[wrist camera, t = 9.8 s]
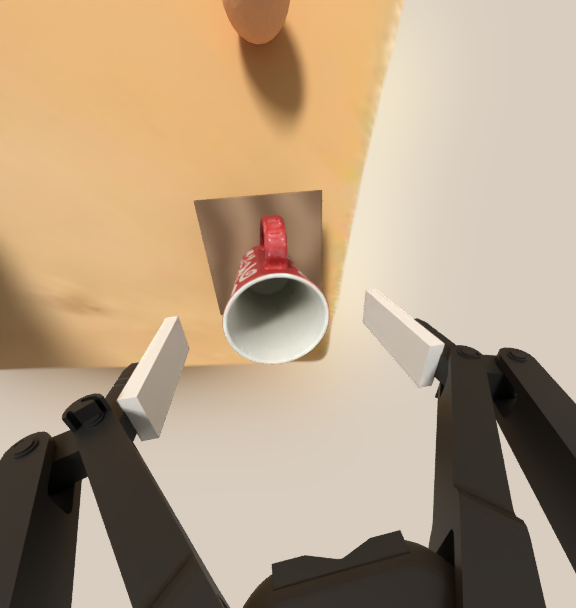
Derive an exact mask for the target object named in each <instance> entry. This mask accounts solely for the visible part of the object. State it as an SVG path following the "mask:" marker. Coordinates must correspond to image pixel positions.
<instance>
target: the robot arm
mask: <svg viewBox="0 0 576 608" xmlns="http://www.w3.org/2000/svg"><path fill="white" fill-rule="evenodd" d="M363 323H364V324H365V325H366V327H367V328H368V329H369V330H370V331H371V333H372V334H373V335H374V336H375V337H376V338H377V340H378V341H379V342H380V343H381V344H382V345H383V347H384V348H385V349H386V350H387V351H388V352H389V354H390V355H391V356H392V357H393V358H394V360H395V361H396V362H397V363H398V364H399V365H400V366H401V368H402V369H403V370H404V371H405V372H406V374H407V375H408V376H409V377H410V378H411V379H412V380H413V382H414V383H415V384H416V385H417V386H418V387H419V388H420V387H425V386H431V385H432V383H433V380H434V377H436V378H437V379H438V380H439V381H440V384H439V387H438V390H437V393H436V396H435V397H436V398H438V408H437V409H438V410H437V432H436V433H437V434H436V458H435V481H434V506H433V525H432V531H431V536H430V542H429V549H428V548H426V547H424V546H422V545H420V544H417V543H414V542H411V541H407V540H404V538H403V536H402V534H401V531H400V530H399V531H395V532H392V533H388V534H384V535H380V536H376V537H372V538H370V539H368V540H367V541H366V542H364V543H363V544H362V545H360V546H359V547H358V548H356V549H355V550H353V551H352V552H351V553H350V554H348V555H347V556H345V557H344V558H342V559H332V558H323V557H314V556H306V555H305V556H300V557H297V558H293V559H289V560H285V561H282V562H278V563H274V564H272V575H270V576H269V577H268V578H266V579H265V580H264V581H263V582H262V583H261V584H260V585H259V586H258V587H257V588H256V589H255V591H254V592H253V593H252V594H251V596H250V597H249V599H248V600H247V602H246V603H245V605H244V606H243V608H546V605H545V601H544V597H543V592H542V588H541V583H540V579H539V574H538V570H537V566H536V561H535V557H534V552H533V548H532V543H531V539H530V535H529V532H528V529H527V526H526V524H525V523H524V521H523V520H521V519H520V518H518V517H516V515H515V513H514V510H513V506H512V501H511V496H510V491H509V485H508V480H507V475H506V470H505V465H504V459H503V454H502V449H501V444H500V439H499V434H498V428H497V423H496V420H497V422H498V424H499V426H500V428H501V430H502V432H503V434H504V436H505V438H506V440H507V442H508V444H509V445H510V447H511V449H512V451H513V453H514V455H515V457H516V459H517V461H518V463H519V465H520V467H521V469H522V471H523V472H524V474H525V476H526V478H527V480H528V482H529V484H530V486H531V488H532V490H533V492H534V494H535V495H536V497H537V499H538V501H539V503H540V505H541V507H542V509H543V511H544V513H545V515H546V517H547V519H548V521H549V523H550V524H551V526H552V528H553V530H554V532H555V534H556V536H557V538H558V540H559V541H560V543H561V546H562V548H563V549H564V551H565V553H566V555H567V557H568V559H569V561H570V563H571V565H572V567H573V569H574V571H575V573H576V404H575V403H574V401H573V400H572V399H571V398H570V397H569V396H568V395H567V394H566V393H565V392H564V390H563V389H562V388H561V387H560V386H559V385H558V384H557V383H556V381H554V379H553V378H552V377H551V376H550V375H549V374H548V373H547V372H546V370H545V369H544V368H543V367H542V366H541V365H540V364H539V363H538V362H537V360H536V359H535V358H533V357H532V356H531V355H530V354H528V353H526V352H524V351H522V350H519V349H514V348H502V349H500V350H499V352H498V354H497V356H494V355H482V354H481V353H480V352H479V351H477V350H475V349H473V348H471V347H467V346H462V345H455V344H454V343H453V342H451V341H450V340H449V339H447V338H446V337H445V336H443V335H442V334H441V333H439V332H438V331H437V330H436V329H434V328H432V327H431V326H430V325H429V324H428V323H426V322H424V321H422V320H420V319H413V318H412V317H410V316H409V315H408V314H407V313H405V312H404V311H403V310H402V309H400V308H399V307H398V306H397V305H395V304H394V303H393V302H391V301H390V300H389V299H388V298H386V297H385V296H384V295H383V294H382V293H380V292H379V291H378V290H376V289H371V290H366V293H365V303H364V314H363ZM188 351H189V346H188V343H187V340H186V337H185V335H184V332H183V329H182V326H181V323H180V320H179V317H178V316H175V317H167V318H166V319H165V320H164V322H163V324H162V325H161V327H160V329H159V330H158V332H157V334H156V335H155V337H154V339H153V340H152V342H151V344H150V345H149V347H148V349H147V350H146V352H145V354H144V355H143V357H142V359H141V360H140V362H138V363H132V364H131V365H129V366H128V367H127V368H126V369H125V370H124V371H123V372H122V374H121V375H120V377H119V378H118V380H117V381H116V383H115V384H114V387H112V389H111V390H110V392H109V393H108V395H107V396H106V398H104V396H102V395H101V394H91V395H87V396H85V397H83V398H80V399H79V400H77V401H76V402H74V403H72V404H71V405H70V406H69V407H68V408H67V409H66V410H65V412H64V413H63V415H62V420H63V421H64V422H65V424H66V425H67V426H68V427H69V428H70V430H69V431H67V432H64V433H62V434H60V435H57V436H54V437H51V436H50V435H49V434H48V433H46V432H37V433H34V434H31V435H29V436H27V437H25V438H23V439H21V440H20V441H18V442H17V443H16V444H14V445H13V446H12V447H11V448H10V449H9V450H7V452H5V454H4V455H3V457H2V458H1V460H0V608H71V603H72V591H73V579H74V578H73V577H74V567H75V553H76V543H77V530H78V519H79V507H80V494H81V482H82V479H84V478H86V477H88V478H89V480H90V484H91V487H92V489H93V493H94V495H95V498H96V501H97V504H98V507H99V510H100V513H101V516H102V519H103V522H104V525H105V528H106V530H107V534H108V537H109V539H110V542H111V545H112V548H113V551H114V554H115V557H116V560H117V563H118V566H119V569H120V572H121V575H122V578H123V580H124V583H125V586H126V589H127V592H128V595H129V598H130V601H131V604H132V607H133V608H230V607H229V605H228V604H227V602H226V601H225V599H224V597H223V595H222V594H221V592H220V591H219V589H218V587H217V586H216V584H215V582H214V581H213V579H212V577H211V576H210V574H209V572H208V570H207V569H206V567H205V565H204V564H203V562H202V560H201V558H200V557H199V555H198V553H197V551H196V550H195V548H194V546H193V544H192V543H191V541H190V539H189V538H188V536H187V534H186V532H185V531H184V529H183V527H182V526H181V524H180V522H179V520H178V519H177V517H176V516H175V513H174V512H173V510H172V508H171V507H170V505H169V503H168V501H167V500H166V498H165V496H164V495H163V493H162V491H161V490H160V488H159V486H158V484H157V482H156V481H155V479H154V477H153V476H152V474H151V472H150V470H149V469H148V467H147V465H146V464H145V462H144V460H143V458H142V457H141V455H140V453H139V451H138V450H137V448H136V446H135V445H134V443H133V441H134V438H135V436H136V434H137V435H138V436H139V438H140V439H141V441H145V440H150V439H155V438H159V436H160V433H161V430H162V427H163V424H164V421H165V419H166V415H167V413H168V410H169V407H170V404H171V401H172V398H173V395H174V392H175V389H176V386H177V383H178V380H179V378H180V375H181V372H182V369H183V366H184V363H185V360H186V357H187V354H188Z"/></svg>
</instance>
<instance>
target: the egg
mask: <svg viewBox="0 0 576 608" xmlns="http://www.w3.org/2000/svg"><path fill="white" fill-rule="evenodd" d="M289 2H290V0H223V5H224V8H225V11H226V13H227V16H228V18H229V21H230V22H231V24H232V26H233V28H234V29H235V30H236V31H237V32H238V34H239V35H240V36H241V37H243V38H244V39H245V40H247V41H248V42H251V43H254V44H264V43H267V42H269V41H270V40H272V39H273V38H274V37H275V36H276V35H277V34H278V32H279V31H280V30H281V28H282V26H283V24H284V22H285V19H286V16H287V13H288V8H289Z"/></svg>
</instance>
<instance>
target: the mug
mask: <svg viewBox="0 0 576 608" xmlns="http://www.w3.org/2000/svg"><path fill="white" fill-rule="evenodd" d="M328 323H329V306H328V302H327V300H326V298H325V296H324V294H323V293H322V291H321V290H320V289H319V288H318V287H317V286H316V285H315V284H314V283H313V282H311V281H310V280H309V279H308V278H307V277H306V276H305V275H304V273H303V272H302V271H301V270H300V269H299V268H298V266H297V265H296V264H295V263H294V261H293V260H292V259H291V258H290V256H289V255H288V254H287V235H286V227H285V223H284V220H283V218H282V217H281V216H279V215H267V216H263V217H262V218H261V221H260V245H258V246H255V247H253V248H251V249H250V250H248V251H247V252H246V253H245V255H244V256H243V258H242V260H241V262H240V264H239V268H238V272H237V275H236V279H235V283H234V286H233V289H232V293H231V297H230V299H229V301H228V302H227V304H226V307H225V309H224V313H223V320H222V324H223V331H224V334H225V337H226V339H227V341H228V343H229V344H230V345H231V347H232V348H233V349H234V350H235V351H236V352H237V353H238V354H240V355H241V356H243V357H245V358H247V359H249V360H251V361H254V362H258V363H263V364H280V363H286V362H290V361H293V360H296V359H298V358H300V357H302V356H304V355H306V354H307V353H309V352H310V351H311V350H312V349H313V348H314V347H315V346H316V345H317V344H318V343H319V342H320V341H321V339H322V338H323V336H324V334H325V332H326V330H327V327H328Z"/></svg>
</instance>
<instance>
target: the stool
mask: <svg viewBox="0 0 576 608" xmlns="http://www.w3.org/2000/svg"><path fill="white" fill-rule="evenodd" d="M194 205H195V209H196V213H197V217H198V221H199V225H200V230H201V234H202V238H203V242H204V246H205V251H206V255H207V259H208V263H209V267H210V271H211V276H212V280H213V284H214V288H215V292H216V297H217V301H218V305H219V309H220V313H221V315H223V313H224V309H225V307H226V304H227V302H228V301H229V299H230V297H231V293H232V289H233V286H234V283H235V279H236V275H237V272H238V268H239V264H240V262H241V260H242V258H243V256H244V255H245V253H246V252H247V251H248V250H250V249H251V248H253V247H255V246H258V245H260V221H261V218H262V217H263V216H267V215H279V216H281V217H282V218H283V220H284V223H285V227H286V235H287V254H288V255H289V256H290V258H291V259H292V260H293V261H294V263H295V264H296V265H297V266H298V268H299V269H300V270H301V271H302V272H303V273H304V275H305V276H306V277H307V278H308V279H309V280H310V281H311V282H313V283H314V284H315V285H316V286H317V287H318V288H319V289H320V290H321V291H322V190H314V191H303V192H291V193H279V194H267V195H255V196H243V197H231V198H219V199H207V200H196V201H194Z"/></svg>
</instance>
